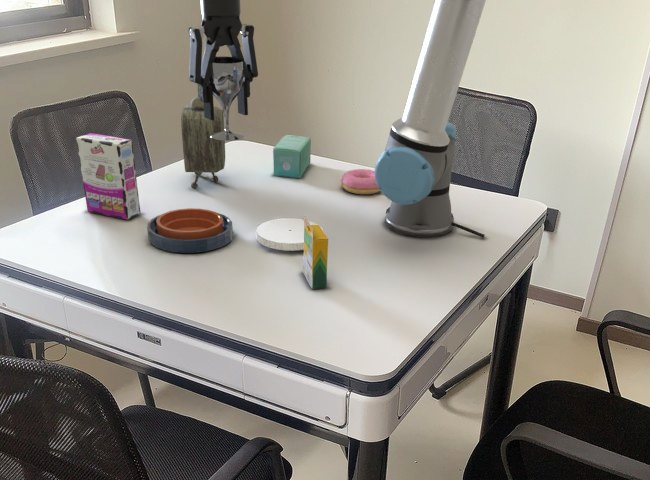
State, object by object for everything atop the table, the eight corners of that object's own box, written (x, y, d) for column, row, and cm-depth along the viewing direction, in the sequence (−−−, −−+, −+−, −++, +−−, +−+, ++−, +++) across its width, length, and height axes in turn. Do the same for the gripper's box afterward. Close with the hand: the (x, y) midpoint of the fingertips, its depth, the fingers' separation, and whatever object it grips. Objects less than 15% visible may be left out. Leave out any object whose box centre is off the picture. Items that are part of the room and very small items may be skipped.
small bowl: (236, 241, 151) (235, 223, 149) (177, 255, 144) (176, 236, 142) (203, 221, 160) (202, 204, 158) (147, 234, 152) (144, 216, 150)
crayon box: (327, 288, 135) (329, 229, 128) (311, 289, 134) (312, 230, 128) (317, 272, 140) (319, 214, 134) (302, 273, 140) (303, 215, 133)
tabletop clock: (191, 172, 188) (183, 69, 174) (226, 173, 189) (221, 71, 175) (186, 191, 176) (177, 82, 162) (224, 191, 177) (218, 83, 163)
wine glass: (239, 142, 150) (236, 64, 142) (202, 139, 151) (197, 61, 143) (251, 133, 156) (248, 58, 148) (216, 129, 157) (211, 55, 149)
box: (272, 176, 189) (272, 147, 185) (284, 161, 200) (284, 134, 196) (300, 179, 188) (300, 150, 184) (310, 164, 199) (311, 136, 195)
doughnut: (331, 189, 182) (332, 173, 180) (356, 179, 190) (357, 163, 187) (367, 199, 177) (368, 182, 175) (392, 188, 185) (393, 172, 182)
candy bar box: (142, 213, 162) (133, 139, 153) (128, 220, 158) (118, 144, 149) (101, 205, 165) (90, 131, 156) (86, 211, 161) (74, 136, 152)
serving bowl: (248, 242, 151) (248, 228, 149) (173, 261, 142) (172, 247, 140) (206, 217, 162) (205, 204, 160) (134, 233, 152) (132, 219, 151)
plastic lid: (244, 247, 149) (244, 236, 147) (274, 225, 160) (274, 214, 158) (307, 260, 145) (307, 248, 144) (333, 236, 156) (333, 225, 155)
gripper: (253, -11, 147) (257, 107, 159) (162, -8, 136) (173, 118, 148) (274, -7, 142) (276, 114, 155) (182, -4, 131) (192, 126, 143)
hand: (226, 116), depth 151 cm, fingers closed on wine glass, 7 cm apart
